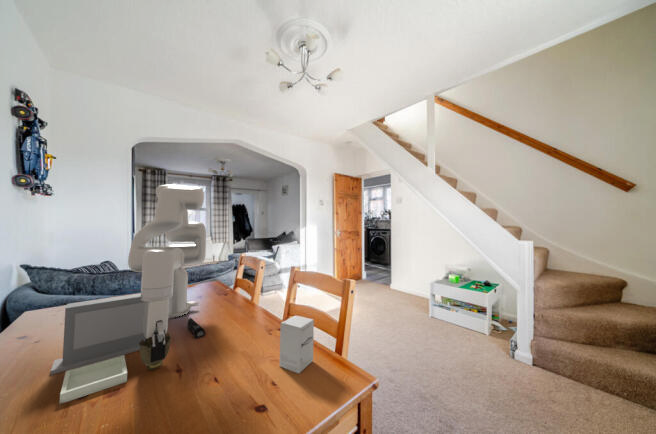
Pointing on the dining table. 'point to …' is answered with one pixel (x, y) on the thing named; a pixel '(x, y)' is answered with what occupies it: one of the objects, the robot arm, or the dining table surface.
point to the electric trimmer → (195, 328)
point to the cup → (146, 352)
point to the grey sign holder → (100, 330)
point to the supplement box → (296, 343)
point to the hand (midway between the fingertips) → (154, 353)
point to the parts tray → (93, 378)
